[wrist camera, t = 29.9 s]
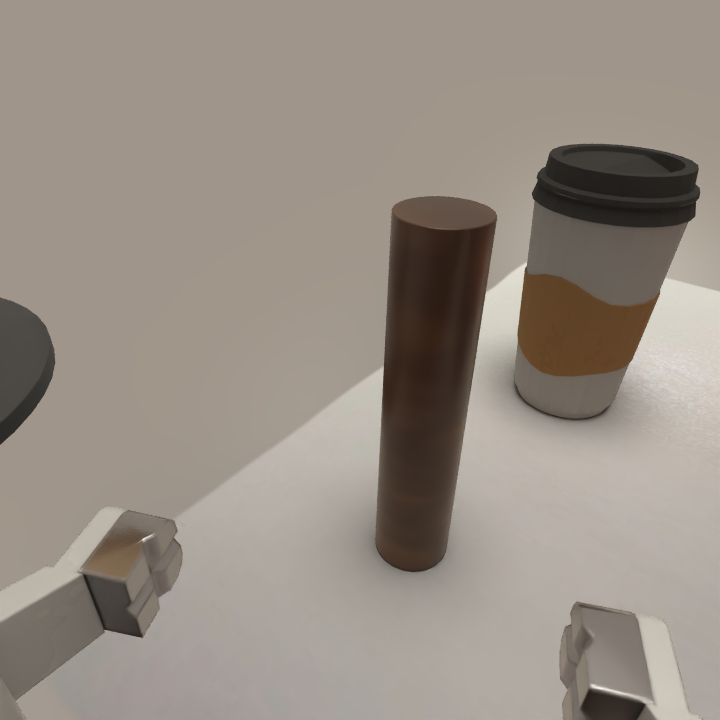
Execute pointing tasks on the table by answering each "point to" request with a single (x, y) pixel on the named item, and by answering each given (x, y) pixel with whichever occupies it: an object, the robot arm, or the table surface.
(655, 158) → the coffee cup
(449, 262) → the brown cylinder
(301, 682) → the table surface
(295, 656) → the table surface
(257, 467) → the table surface
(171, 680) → the table surface
